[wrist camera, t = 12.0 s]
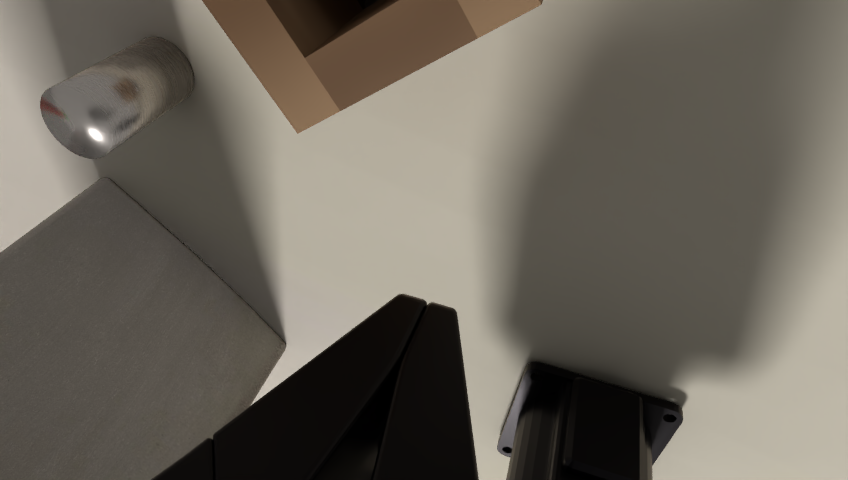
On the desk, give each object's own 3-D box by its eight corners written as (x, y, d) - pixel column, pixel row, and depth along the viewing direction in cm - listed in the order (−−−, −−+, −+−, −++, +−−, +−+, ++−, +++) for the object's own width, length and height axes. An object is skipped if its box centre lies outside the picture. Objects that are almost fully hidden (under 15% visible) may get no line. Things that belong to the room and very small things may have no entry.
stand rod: (197, 107, 23) (117, 166, 19) (140, 92, 23) (51, 147, 20) (190, 45, 21) (102, 97, 18) (129, 29, 21) (31, 78, 18)
